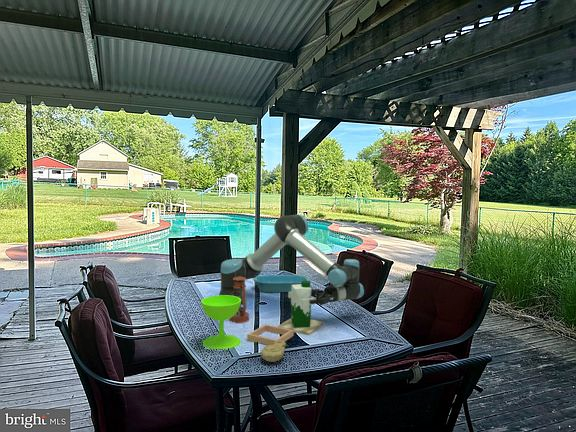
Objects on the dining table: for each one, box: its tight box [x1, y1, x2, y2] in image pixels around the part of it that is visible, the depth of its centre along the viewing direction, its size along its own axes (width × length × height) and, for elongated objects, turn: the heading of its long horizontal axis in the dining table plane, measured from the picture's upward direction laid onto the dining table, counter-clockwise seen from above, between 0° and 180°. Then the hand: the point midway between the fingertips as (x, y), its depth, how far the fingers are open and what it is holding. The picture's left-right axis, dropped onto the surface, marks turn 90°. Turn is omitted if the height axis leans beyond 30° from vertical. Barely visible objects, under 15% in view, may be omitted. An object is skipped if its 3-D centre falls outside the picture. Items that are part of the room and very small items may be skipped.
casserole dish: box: [252, 274, 312, 293], centre depth 250 cm, size 37×22×7 cm, turn 97°
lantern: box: [229, 260, 250, 324], centre depth 189 cm, size 10×10×30 cm
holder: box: [246, 323, 295, 346], centre depth 167 cm, size 14×14×2 cm
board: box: [277, 317, 325, 336], centre depth 182 cm, size 16×16×1 cm
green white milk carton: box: [290, 281, 313, 328], centre depth 180 cm, size 9×9×20 cm
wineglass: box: [200, 294, 242, 349], centre depth 160 cm, size 16×16×18 cm
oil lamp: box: [260, 341, 287, 363], centre depth 148 cm, size 11×14×5 cm
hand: (295, 298), depth 179 cm, fingers open, 13 cm apart
